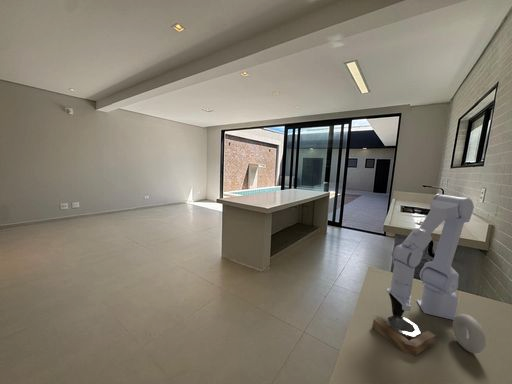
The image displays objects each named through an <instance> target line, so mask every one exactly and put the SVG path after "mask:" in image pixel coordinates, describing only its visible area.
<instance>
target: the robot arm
mask: <svg viewBox="0 0 512 384" xmlns="http://www.w3.org/2000/svg"><path fill="white" fill-rule="evenodd" d="M474 208H475V206H474V202H473V200H472V199H471V198H470V197H462V196H461V197H460V196H453V195H446V194H442V193H436V194H435V195H434V196H433V197H432V199H431V201H430V202H429V209H430V210H429V212H428V214H427V215H426V217H425V218H424V220H423V221H422V223H421V225H420V226H419V227H418V228H414V229H412V230H411V232H410V233H409V234H408V236H407V237H405V240H403V242H402V243H401V244H398V245H396V246H394V247H393V248H392V251H391V253H390V254H391V258H392V265H393V270H392V278H391V281H390V287H389V288H388V287H387V288H386V292H387V293H388V295H389V299H390V303H391V313H392V316H393V315H396V316H400V317H403V314H404V313H405V311H406V312H411V307H412V304H411V300H412V295H411V294H412V289H413V288H412V287H413V282H414V281H413V280H414V277H415V269H416V267H418V265H419V264H420V263H421V261H422V258H423V256H424V250H425V249H426V248H427V247H428V246H429V243H430V242H432V240H433V238H432V235H431V234H433V232H434V231H435V230H437V228H438V227H439V226H441V224H442V223H443V222H444V224H443V227H442V229H441V233H440V237H439V239H438V244H437V246H436V247H437V248H436V249H435V254H434V257H433V260H432V261H431V260H430V261H427V262H425V263H424V265H423V267H422V268H421V270H420V272H419V278H420V279H419V280H421V281H422V282H421V283H422V285H423V289H422V290H423V291H422V296H421V299H420V300H419V299H416V302H417V304H418V305H419V307H420V309H421V311H422V312H423V313H424V314H426V315H431V316H435V317H438V318H439V317H440V318H442V319H443V318H444V319H449V320H452V321H453V320H454V318H455V317H456V313H457V308H458V302H459V301H458V296H457V294H456V291H457V290H458V288H459V277H460V275H459V272H457V271H456V270H455V269H454V268H453V267H452V264H453V260H454V257H455V254H456V251H457V247H458V244H459V242H460V241H459V240H460V238H461V234H462V231H463V228H464V225H465V223H469V222H470V220H471V217H472V214H473V213H474Z"/></svg>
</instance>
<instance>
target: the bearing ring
mask: <svg viewBox="0 0 512 384" xmlns="http://www.w3.org/2000/svg"><path fill="white" fill-rule="evenodd" d="M386 324H387V325H388V326H390V327H391V328H393V329H394V330H395V331H397V332H398V333H400V334H401V335H402V336H404V337H405V338H406V339H408V340H411V339H413V338H415V337H417V336H419V335H421V334H422V333H421V331H420V329H419V327H418V325H417V324H415V323H414V322H413V321H411V320H410V319H408V318H406V317H403V316H401V317H400V316H396V315H393V314H392V315H390V316H389V317H387V318H386Z"/></svg>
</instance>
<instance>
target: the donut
mask: <svg viewBox="0 0 512 384" xmlns="http://www.w3.org/2000/svg"><path fill="white" fill-rule="evenodd" d="M452 331H453V334H454V337H455V339H456V342H457V343H458V344H459V345H460V346H461V347H462V349H464V350H465V351H466V352H468V353H472V354H480V353H482V352H483V351H484V350H485V348H486V345H487V344H486V343H487V339H486V334H485V332H484V330H483V328H482V326H481V324H480V323H479V322H478V320H476V318H474V317H473V316H472V315H470V314H465V313H460V314H457V315H455V318H454V320H452Z"/></svg>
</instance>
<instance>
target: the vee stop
mask: <svg viewBox="0 0 512 384" xmlns="http://www.w3.org/2000/svg"><path fill="white" fill-rule="evenodd" d="M372 328H373V329H374V330H375V331H376V332H378V333H379V334H380V335H382V337H384V338H386V339H387V341H389V342H391V344H393V345H394V346H396V348H398V349H399V350H401V351H402V352H403V354H407V355H410V356H414V357H417V355H418V354H419V353H422V352H423V351H424V350H426V349H428V348H429V347H431V346H433V345H434V344H435V340H436V334H435V333H433V332H431V331H430V330H426V331H425V332H422V333H421V335H419V336H417V337H415V338H413V339H411V340H408V339H406V338H405V337H404V336H402V335H401V334H400V333H398V332H397V331H395V330H394V329H393V328H391V327H390V326H388V325H387V322H384V321H383V320H381V319H380V318H379V317H376V318H373V320H372Z"/></svg>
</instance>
